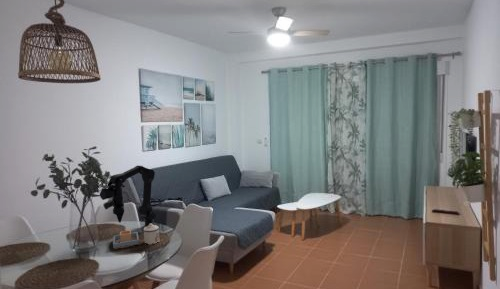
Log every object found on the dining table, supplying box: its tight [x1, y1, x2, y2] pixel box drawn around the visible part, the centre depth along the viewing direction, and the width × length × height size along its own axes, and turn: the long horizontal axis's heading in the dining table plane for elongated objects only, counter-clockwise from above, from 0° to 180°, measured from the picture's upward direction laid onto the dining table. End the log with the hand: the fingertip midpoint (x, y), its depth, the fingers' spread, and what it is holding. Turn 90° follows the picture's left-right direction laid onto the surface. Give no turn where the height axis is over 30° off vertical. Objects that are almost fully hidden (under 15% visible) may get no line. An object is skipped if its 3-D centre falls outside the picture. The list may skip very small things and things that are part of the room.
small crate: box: [119, 229, 132, 242], centre depth 202 cm, size 6×6×6 cm
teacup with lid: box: [142, 223, 160, 244], centre depth 203 cm, size 12×9×12 cm
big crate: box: [112, 231, 140, 248], centre depth 202 cm, size 14×14×4 cm
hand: (119, 220), depth 209 cm, fingers open, 9 cm apart
